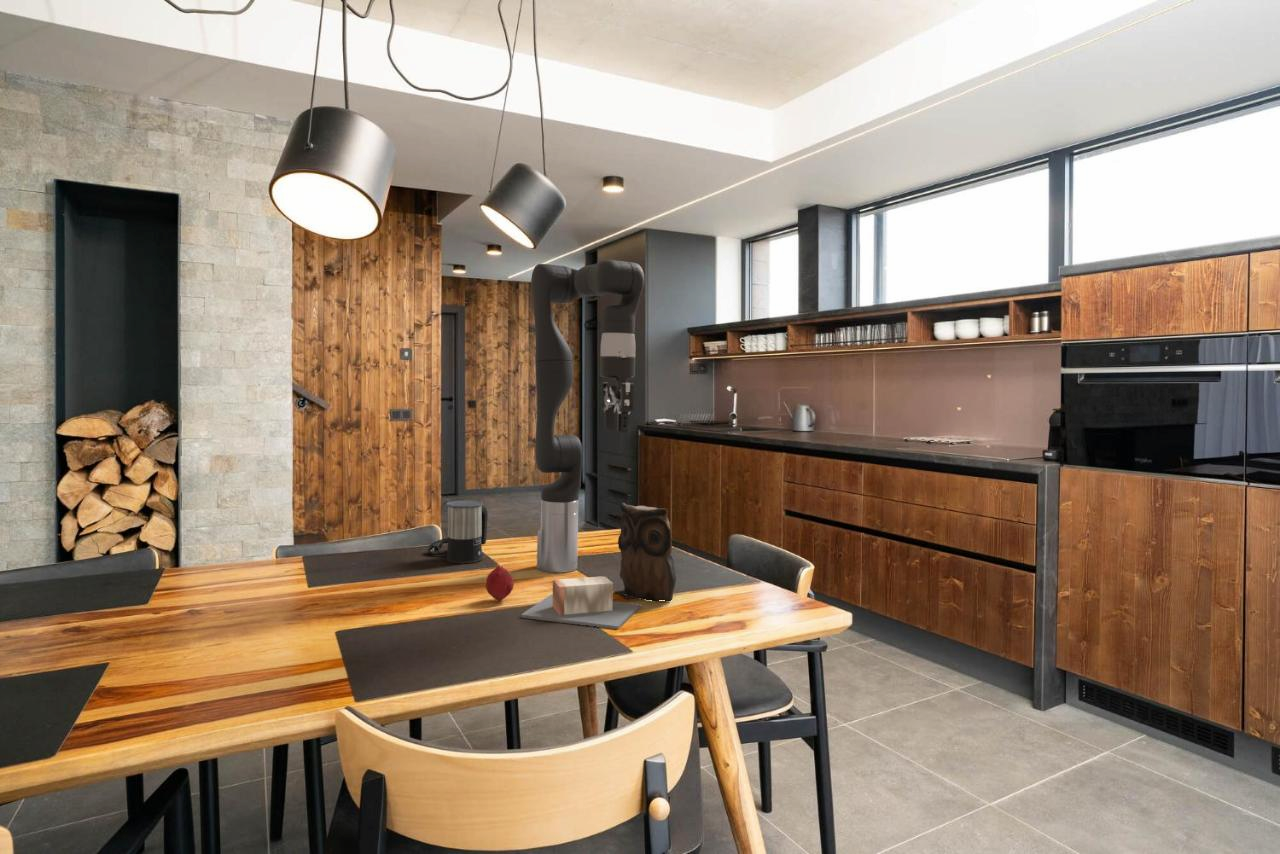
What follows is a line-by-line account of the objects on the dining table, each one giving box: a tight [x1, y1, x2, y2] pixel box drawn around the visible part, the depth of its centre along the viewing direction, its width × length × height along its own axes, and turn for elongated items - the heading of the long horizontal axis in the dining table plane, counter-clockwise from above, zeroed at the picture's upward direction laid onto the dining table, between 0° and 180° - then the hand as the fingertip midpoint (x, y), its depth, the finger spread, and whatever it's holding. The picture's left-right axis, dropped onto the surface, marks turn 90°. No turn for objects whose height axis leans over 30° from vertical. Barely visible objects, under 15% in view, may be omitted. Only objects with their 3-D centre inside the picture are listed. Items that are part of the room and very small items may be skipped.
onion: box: [484, 562, 515, 602], centre depth 156 cm, size 6×6×8 cm
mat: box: [520, 593, 641, 630], centre depth 150 cm, size 20×15×1 cm
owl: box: [617, 502, 677, 602], centre depth 163 cm, size 13×13×20 cm
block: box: [552, 575, 614, 615], centre depth 150 cm, size 6×6×11 cm
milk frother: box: [427, 499, 489, 564], centre depth 194 cm, size 14×16×15 cm
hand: (616, 430), depth 160 cm, fingers open, 8 cm apart
